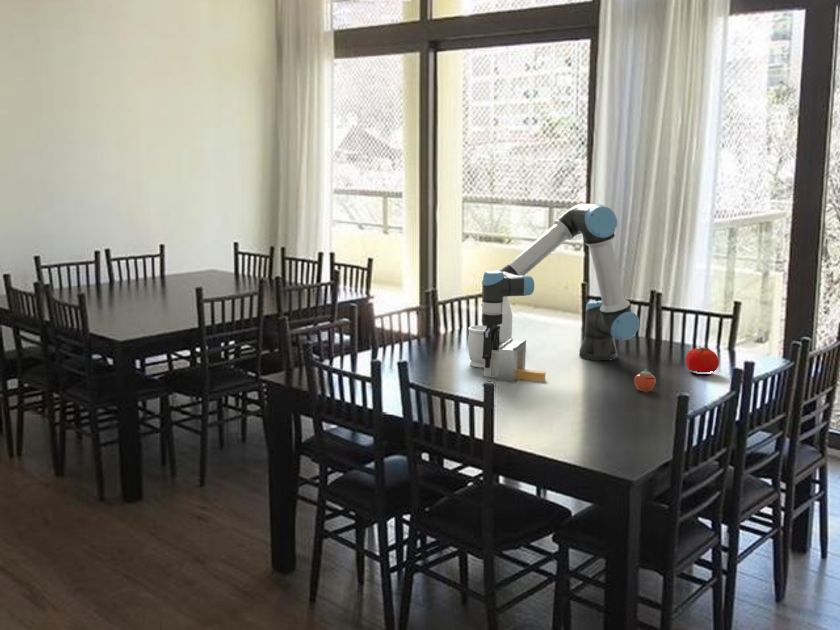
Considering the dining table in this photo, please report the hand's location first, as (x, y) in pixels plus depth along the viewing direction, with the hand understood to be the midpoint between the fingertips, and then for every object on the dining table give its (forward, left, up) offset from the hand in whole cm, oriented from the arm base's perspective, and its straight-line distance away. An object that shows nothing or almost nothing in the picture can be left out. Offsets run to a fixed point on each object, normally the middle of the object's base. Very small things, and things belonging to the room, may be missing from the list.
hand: (490, 373), depth 327 cm
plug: (-8, +4, -1) cm, 8 cm away
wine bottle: (-13, -58, -1) cm, 59 cm away
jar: (+2, -14, -1) cm, 14 cm away
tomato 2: (-51, +23, -1) cm, 56 cm away
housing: (-7, +3, -1) cm, 8 cm away
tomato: (-80, 0, -1) cm, 80 cm away
